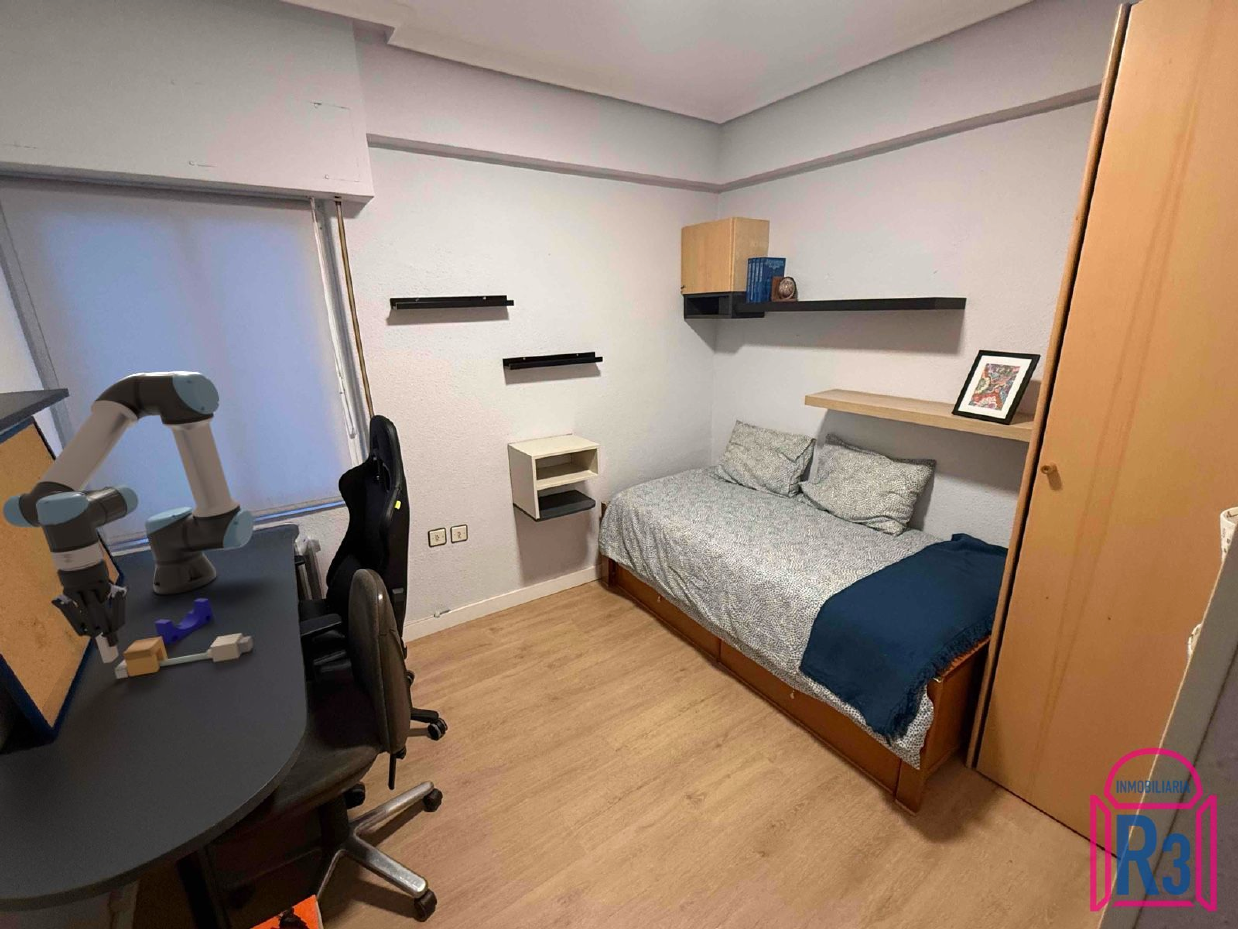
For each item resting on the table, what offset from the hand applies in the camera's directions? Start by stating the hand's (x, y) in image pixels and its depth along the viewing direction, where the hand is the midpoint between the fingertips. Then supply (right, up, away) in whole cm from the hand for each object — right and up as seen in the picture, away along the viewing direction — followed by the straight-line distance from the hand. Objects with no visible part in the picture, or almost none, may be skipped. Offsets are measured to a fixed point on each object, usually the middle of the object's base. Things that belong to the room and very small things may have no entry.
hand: (111, 658), depth 120 cm
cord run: (+14, -2, +5) cm, 15 cm away
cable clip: (+2, 0, +18) cm, 18 cm away
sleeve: (+6, -3, +3) cm, 7 cm away
